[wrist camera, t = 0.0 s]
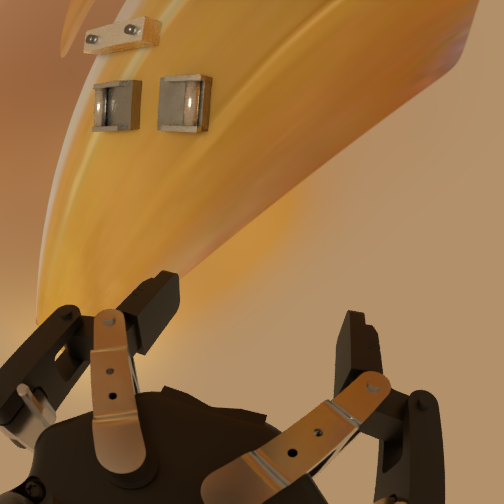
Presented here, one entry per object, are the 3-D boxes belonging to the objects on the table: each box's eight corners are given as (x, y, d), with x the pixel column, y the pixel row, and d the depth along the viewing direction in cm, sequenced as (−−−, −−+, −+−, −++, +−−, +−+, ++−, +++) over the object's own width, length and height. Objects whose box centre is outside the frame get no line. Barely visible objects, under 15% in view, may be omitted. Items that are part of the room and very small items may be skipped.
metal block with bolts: (105, 35, 36) (82, 30, 30) (162, 23, 34) (141, 14, 28) (102, 54, 37) (79, 52, 32) (159, 45, 35) (137, 38, 30)
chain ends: (109, 84, 40) (91, 84, 36) (212, 77, 36) (199, 74, 32) (107, 129, 43) (90, 132, 39) (207, 130, 40) (194, 132, 36)
